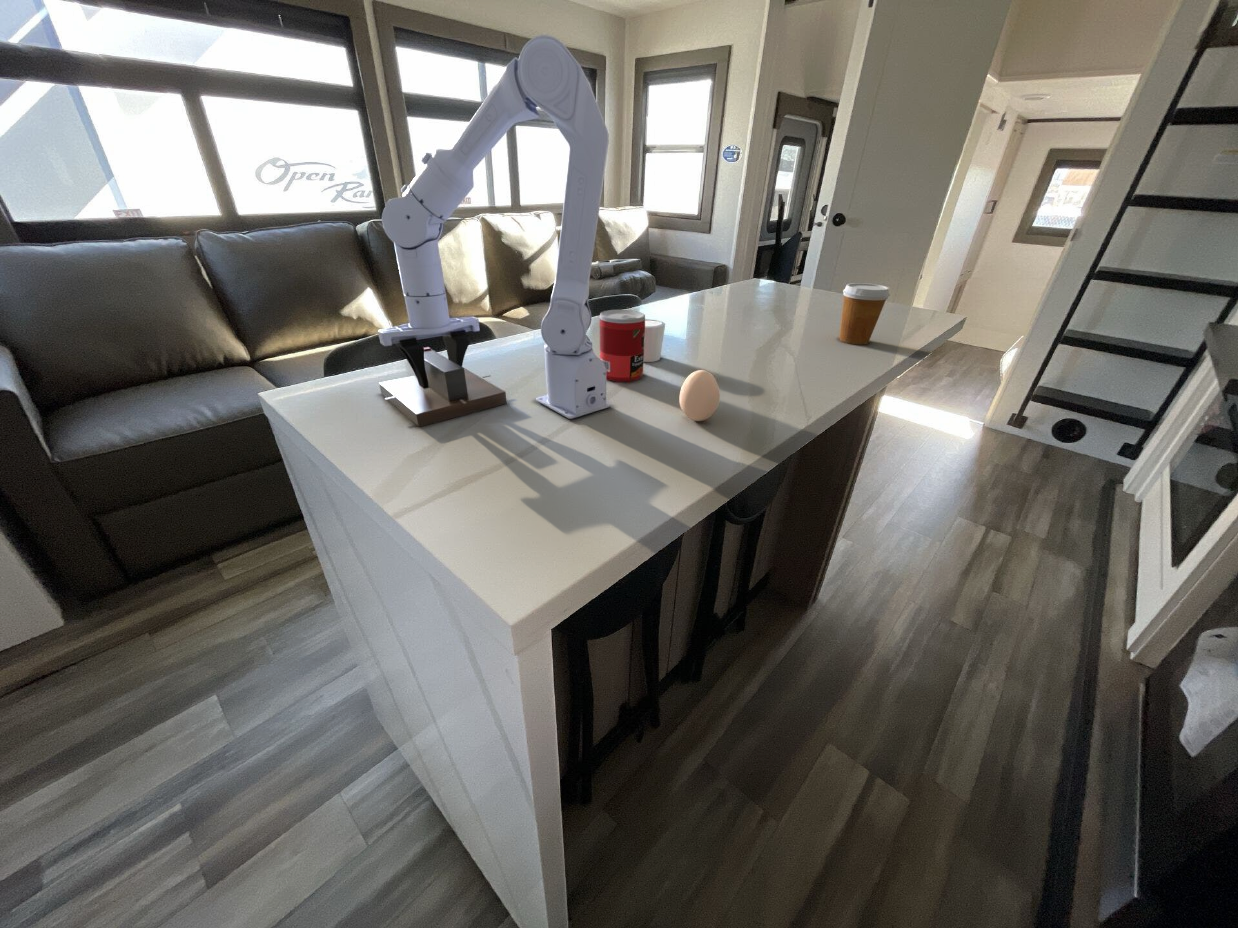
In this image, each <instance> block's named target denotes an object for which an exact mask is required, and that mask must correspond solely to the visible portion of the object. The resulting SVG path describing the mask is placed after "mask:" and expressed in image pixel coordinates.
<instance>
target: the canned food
mask: <svg viewBox="0 0 1238 928" xmlns="http://www.w3.org/2000/svg"><path fill="white" fill-rule="evenodd" d="M645 319H646V314H645V313H643V312H642V311H638V310H632V309H609V310H608V309H607V310H604V311H601V312H600V313H599V359H600V360H602V362H603V363H604V365H605V367H606V381H610V382H611V381H612V382H616V383H617V382H618V383H627V382H635V381H638V380H639V379H641V378H642V375H643V374H644V373H643V372H644V362H643V361H644V339H645Z"/></svg>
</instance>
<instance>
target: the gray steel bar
mask: <svg viewBox="0 0 1238 928" xmlns="http://www.w3.org/2000/svg"><path fill="white" fill-rule="evenodd" d="M423 348H424V363H425V370H426V375H427V379H428V386H429V387H430V388H431V389H433V390H434V391H436V392H437V393H438V394H440V395H441V396H443V397H444V398H446V399H447V400H448V401H452V400H456V399H461V398H465V397H468V392H467V385H466V378H465V371H464V368H465V367H463V366H462V367H461V366H459V365H458V364H456V363H454V362H453V361H451V360H449V359H448V357H445V356H444V355H442V354H441V353H439V352H438V351H436V350H433V349H432V348H431V347H429V346H426V347H423Z"/></svg>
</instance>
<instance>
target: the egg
mask: <svg viewBox="0 0 1238 928" xmlns="http://www.w3.org/2000/svg"><path fill="white" fill-rule="evenodd" d="M720 397H721V394H720V387H719V385H718V382H717V380H716V378H715V377H714V375H713V374H712V373H711V372H709V371H707V370H705V369H698V370H695V371H693V372H691V373H690V374H689V375H688V376H687V377H686V379H685V380H684V381H683V383H682V385H681V388H680V391H679V397H678V398H679V399H678V400H679V406H680V409H681V411H682V412H683V414H684V416H686V417H687V418H688V419H689V420H692V421H694V422H702V421H706V420H707V419H709V418H711V416H713V415H714V414H715V412H716V411H717V408H718V407H719V403H720V399H721V398H720Z"/></svg>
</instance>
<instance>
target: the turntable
mask: <svg viewBox="0 0 1238 928" xmlns="http://www.w3.org/2000/svg"><path fill="white" fill-rule="evenodd" d="M463 368H464V371H465V378H466V385H467V392H468V397H465V398H461V399H456V400H452V401H448V400H447V399H446V398H444V397H443V396H441V395H440V394H438V393H437V392H436V391H434V390H433V389H431V388H430V387H429V388H426V389H424V388H422V387H421V386H420V385H419V383H418V380H417V378H416V375H415V374H414V375H411V376H406V377H401V378H397V379H391V380H387V381H382V382H378V385H379V390H380V393H381V395H382V396H383V397H384V400H385V401H388V402H390V403H391V404H392V405H393V406H394V407H395V408H396V409H397V410H399V411H400V412H401V413H402V414H403V415H404V416H405V417H406V418H408V419H409V420H410V421H411V422H412V423H413V424H415V425H416V426H417V427H418V428H420V427H424V426H428V425H431V424H436V423H439V422H444V421H448V420H450V419H454V418H458V417H462V416H466V415H469V414H472V413H477V412H480V411H485V410H488V409H492V408H497V407H500V406H503V405H507V404H508V403H507V393H506V390H503V389H501V388H500V387H499V386H497V385H494V384H493V383H491V382H490V381H488V380H486V379H485V378H490V377H492V375H491V374H488V375H483V376H482V377H481V376H479V375H477V374H476V373H474V372H472V371H470V370H469V369H467V368H465V367H463Z"/></svg>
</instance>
